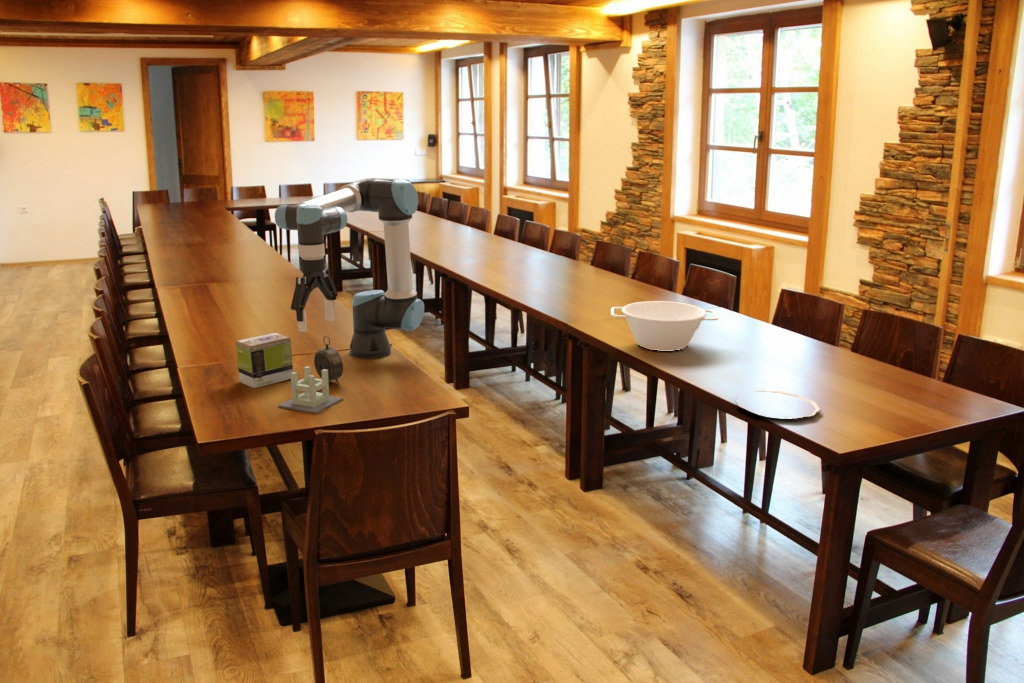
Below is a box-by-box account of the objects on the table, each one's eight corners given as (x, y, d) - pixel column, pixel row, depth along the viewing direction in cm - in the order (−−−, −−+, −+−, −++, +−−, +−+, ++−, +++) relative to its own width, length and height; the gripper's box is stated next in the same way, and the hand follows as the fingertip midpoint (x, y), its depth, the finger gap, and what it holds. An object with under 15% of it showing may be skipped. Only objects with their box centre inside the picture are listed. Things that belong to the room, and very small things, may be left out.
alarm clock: (345, 385, 294) (343, 337, 290) (331, 388, 290) (329, 340, 286) (325, 377, 301) (323, 331, 297) (312, 381, 298) (309, 334, 293)
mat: (306, 393, 285) (306, 391, 285) (342, 399, 280) (342, 398, 280) (278, 407, 273) (278, 405, 273) (315, 413, 267) (315, 412, 267)
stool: (308, 395, 281) (306, 366, 279) (329, 399, 278) (327, 369, 275) (292, 403, 274) (290, 373, 272) (313, 407, 271) (312, 376, 268)
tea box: (278, 372, 306) (276, 331, 302) (294, 379, 299) (291, 337, 295) (238, 382, 296) (235, 339, 292) (253, 389, 289) (250, 345, 285)
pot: (609, 355, 330) (611, 318, 326) (609, 333, 361) (610, 299, 357) (719, 359, 327) (722, 322, 323) (709, 336, 357) (712, 302, 353)
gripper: (326, 249, 279) (330, 314, 285) (275, 264, 257) (280, 334, 263) (346, 251, 276) (350, 317, 282) (296, 266, 254) (301, 337, 260)
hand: (316, 325), depth 273 cm, fingers open, 13 cm apart
